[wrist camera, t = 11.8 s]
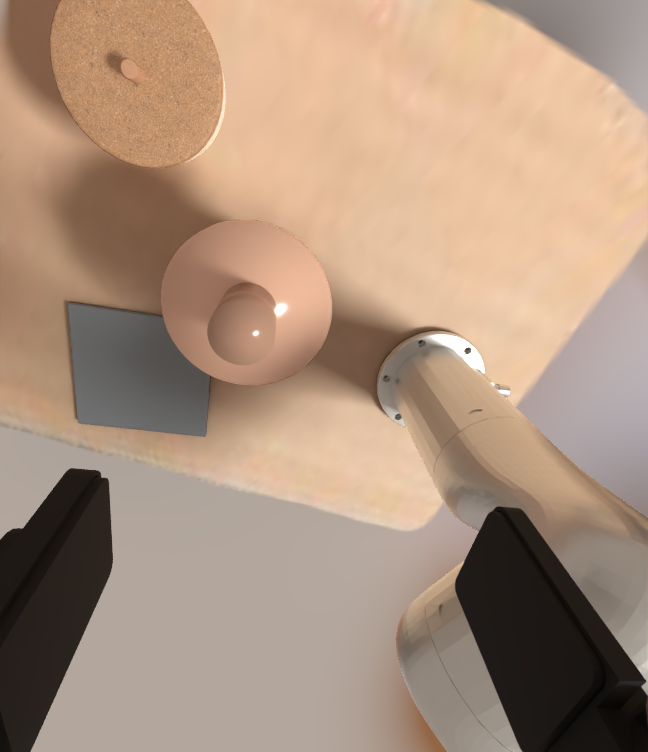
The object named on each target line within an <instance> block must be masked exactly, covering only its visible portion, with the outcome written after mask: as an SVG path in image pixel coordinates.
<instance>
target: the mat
mask: <svg viewBox="0 0 648 752" xmlns="http://www.w3.org/2000/svg"><path fill="white" fill-rule="evenodd" d="M68 315H69V326H70V338H71V349H72V361H73V372H74V384H75V395H76V407H77V418H78V423H80V424H90V425H99V426H109V427H118V428H128V429H137V430H146V431H156V432H165V433H175V434H184V435H194V436H203V437H205V436H206V428H207V415H208V402H209V389H210V375H209V374H207V373H205V372H203V371H202V370H200V369H199V368H197V367H196V366H195V365H193V364H192V363H191V362H190V361H189V360H188V359H187V358H186V357H185V356H184V355H183V354H182V353H181V352H180V350H179V349H178V348H177V346H176V345H175V343H174V342H173V340H172V339H171V337H170V335H169V333H168V331H167V328H166V325H165V322H164V319H163V316H160V315H153V314H147V313H140V312H134V311H127V310H120V309H114V308H107V307H100V306H94V305H87V304H81V303H74V302H70V303H68Z"/></svg>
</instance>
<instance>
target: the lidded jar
mask: <svg viewBox="0 0 648 752" xmlns="http://www.w3.org/2000/svg"><path fill="white" fill-rule="evenodd" d="M50 57H51V63H52V70H53V74H54V77H55V81H56V84H57V88H58V90H59V92H60V95H61V97H62V99H63V102H64V104H65V105H66V107H67V109H68V111H69V112H70V114H71V116H72V117H73V119H74V120H75V121H76V123H77V124H78V125H79V127H80V128H81V129H82V131H83V132H84V133H85V134H86V135H87V136H88V137H89V138H90V139H91V140H92V141H93V142H94V143H96V144H97V145H98V146H99V147H100V148H102V149H103V150H104V151H106V152H107V153H109V154H111V155H112V156H114V157H115V158H118V159H120V160H122V161H124V162H126V163H129V164H133V165H136V166H140V167H148V168H167V167H171V166H177V165H181V164H185V163H187V162H189V161H191V160H193V159H195V158H196V157H198V156H199V155H201V154H202V153H203V152H204V151H205V150H206V149H207V148H208V147H209V146H210V145H211V144H212V142H213V141H214V139H215V138H216V136H217V134H218V132H219V130H220V127H221V124H222V121H223V117H224V111H225V83H224V75H223V71H222V68H221V64H220V60H219V57H218V53H217V50H216V48H215V45H214V43H213V40H212V38H211V35H210V33H209V32H208V30H207V28H206V26H205V24H204V22H203V21H202V19H201V17H200V16H199V15H198V13H197V12H196V10H195V9H194V8H193V6H192V5H191V4H190V3H189V2H188V1H187V0H60V2H59V4H58V6H57V8H56V11H55V15H54V18H53V21H52V27H51V34H50Z"/></svg>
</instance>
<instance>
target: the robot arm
mask: <svg viewBox="0 0 648 752" xmlns="http://www.w3.org/2000/svg"><path fill="white" fill-rule="evenodd" d="M420 340H421V342H419V341H420ZM465 348H466V349H465ZM385 375H387V376H386V377H384V376H385ZM509 394H510V388H509V386H507V385H501V384H494V383H493V382H492V381H491V380H490V379H489V378H488V377H487V376H486V375H485V368H484V362H483V360H482V358H481V355H480V353H479V352H478V351H477V349H476V348H475V347H474V346H473V345H472V344H471V343H470V342H469V341H468V340H466V339H464V338H463V337H461V336H460V335H457V334H454V333H452V332H446V331H429V332H424V333H420V334H417V335H415V336H412V337H410V338H408V339H407V340H405V341H403V342H402V343H400V344H399V345H398V346H397V347H396V348H394V349H393V350H392V351H391V353H390V354H389V355H388V356H387V357H386V359H385V361H384V362H383V364H382V366H381V368H380V371H379V374H378V378H377V395H378V398H379V401H380V404H381V406H382V408H383V410H384V411H385V413H386V414H387V415H388V417H390V418H391V419H392V420H393V421H394V422H396V423H398V424H399V425H401V426H403V427H407V429H408V431H409V433H410V435H411V437H412V439H413V441H414V443H415V445H416V447H417V450H418V452H419V454H420V456H421V458H422V460H423V462H424V464H425V466H426V468H427V470H428V472H429V474H430V476H431V478H432V480H433V482H434V484H435V486H436V488H437V490H438V492H439V494H440V496H441V498H442V500H443V501H444V503H445V505H446V506H447V507H448V509H449V510H450V511H451V512H452V513H453V514H454V515H455V516H456V517H457V518H458V519H459V520H461V521H462V522H463V523H465V524H467V525H468V526H470V527H472V528H474V529H476V530H478V531H479V533H478V535H477V537H476V539H475V541H474V543H473V545H472V547H471V549H470V551H469V553H468V555H467V557H466V559H465V560H464V561H463V562H461V563H460V564H459V565H458V566H456V567H455V568H454V569H452V570H451V571H450V572H449V573H447V574H446V575H445V576H443V577H442V578H441V579H439V580H438V581H437V582H436V583H434V584H433V585H432V586H430V587H429V588H428V589H427V590H426V591H424V592H423V593H422V594H421V595H420V596H419V597H417V598H416V599H415V600H414V601H413V602H412V603H411V604H410V605H409V606H408V608H407V609H406V610H405V612H404V613H403V615H402V617H401V619H400V622H399V624H398V628H397V634H396V648H397V657H398V661H399V665H400V668H401V672H402V675H403V678H404V680H405V683H406V685H407V687H408V690H409V692H410V694H411V696H412V698H413V700H414V702H415V704H416V705H417V707H418V709H419V711H420V712H421V714H422V716H423V717H424V719H425V720H426V722H427V723H428V725H429V727H430V728H431V730H432V731H433V733H434V734H435V735H436V737H437V738H438V739H439V741H440V742H441V744H442V745H443V746H444V748H445V749H446V750H447V752H648V518H647V517H646V516H645V515H643V514H642V513H640V512H639V511H638V510H636V509H634V508H633V507H632V506H630V505H629V504H628V503H626V502H625V501H623V500H622V499H621V498H619V497H618V496H616V495H615V494H614V493H612V492H611V491H609V490H608V489H607V488H605V487H604V486H602V485H601V484H600V483H599V482H597V481H596V480H595V479H593V478H592V477H591V476H590V475H588V474H587V473H586V472H584V471H583V470H582V469H581V468H579V467H578V466H577V465H576V464H575V463H574V462H573V461H572V460H570V459H569V458H568V457H567V456H566V455H565V454H564V453H563V452H562V451H560V450H559V449H558V448H557V447H556V446H555V445H554V444H553V443H552V442H551V441H550V440H548V438H546V437H545V436H544V435H543V434H542V433H541V432H540V431H539V430H538V429H537V428H536V427H535V426H534V425H533V424H532V423H531V422H530V421H529V420H527V418H526V417H525V416H524V415H523V414H522V413H521V412H520V411H518V410H517V409H516V408H515V407H514V406H513V405H512V404H511V403H510V402H509V401H508V400H507V399H506V398H505V397H508V396H509ZM112 563H113V553H112V534H111V515H110V495H109V481H108V479H107V478H101V473H100V472H99V471H96V470H85V469H74V468H71V469H69V470H68V471H67V472H66V473H65V474H64V475H63V477H62V478H61V479H60V481H59V482H58V483H57V485H56V486H55V487H54V488H53V490H52V491H51V492H50V494H49V495H48V496H47V498H46V499H45V500H44V502H43V503H42V504H41V506H40V507H39V508H38V510H37V511H36V512H35V513H34V515H33V516H32V517H31V519H30V520H29V522H28V523H27V524H26V525H25V527H24V528H23V529H20V528H18V529H12V530H11V531H9V532H7V533H6V534H5V535H4V536H3V537H2V538H1V540H0V752H30V751H31V749H32V747H33V745H34V743H35V740H36V738H37V736H38V734H39V731H40V729H41V727H42V725H43V723H44V720H45V718H46V716H47V713H48V711H49V709H50V707H51V705H52V703H53V700H54V698H55V696H56V694H57V691H58V689H59V687H60V685H61V683H62V680H63V678H64V676H65V673H66V671H67V669H68V667H69V665H70V662H71V660H72V658H73V656H74V654H75V651H76V649H77V647H78V645H79V643H80V640H81V638H82V636H83V634H84V631H85V629H86V627H87V625H88V622H89V620H90V618H91V616H92V614H93V611H94V609H95V607H96V605H97V603H98V600H99V598H100V596H101V593H102V591H103V589H104V587H105V585H106V583H107V580H108V578H109V575H110V572H111V568H112Z"/></svg>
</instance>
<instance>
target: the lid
mask: <svg viewBox="0 0 648 752" xmlns="http://www.w3.org/2000/svg"><path fill="white" fill-rule="evenodd" d="M161 309H162V314H163V319H164V322H165V325H166V328H167V331H168V333H169V335H170V337H171V339H172V340H173V342H174V343H175V345H176V346H177V348H178V349H179V350H180V352H181V353H182V354H183V355H184V356H185V357H186V358H187V359H188V360H189V361H190V362H191V363H192V364H193V365H195V366H196V367H197V368H199V369H200V370H202V371H203V372H205V373H207V374H209V375H210V376H212V377H215V378H217V379H219V380H222V381H226V382H229V383H234V384H239V385H264V384H269V383H274V382H277V381H280V380H283V379H285V378H287V377H290V376H292V375H293V374H295V373H297V372H298V371H300V370H301V369H302V368H304V367H305V366H306V365H307V364H308V363H309V362H310V361H311V360H312V359H313V358H314V357H315V356H316V354H317V353H318V352H319V350H320V349H321V347H322V345H323V343H324V342H325V339H326V337H327V334H328V332H329V328H330V324H331V318H332V298H331V291H330V288H329V284H328V281H327V278H326V276H325V274H324V271H323V269H322V267H321V265H320V264H319V262H318V260H317V259H316V257H315V256H314V255H313V253H312V252H311V251H310V250H309V249H308V248H307V247H306V246H305V245H304V244H303V243H302V242H301V241H300V240H299V239H297V238H296V237H295V236H293V235H292V234H290V233H289V232H287V231H285V230H283V229H281V228H279V227H277V226H274V225H272V224H269V223H265V222H261V221H255V220H230V221H224V222H220V223H217V224H214V225H211V226H209V227H207V228H205V229H203V230H201V231H199V232H198V233H196V234H195V235H193V236H192V237H190V238H189V239H188V240H187V241H186V242H185V243H184V244H183V245H182V246H181V247H180V248H179V249H178V250H177V252H176V253H175V254H174V255H173V257H172V259H171V261H170V262H169V264H168V266H167V269H166V272H165V274H164V277H163V282H162V286H161Z"/></svg>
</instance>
